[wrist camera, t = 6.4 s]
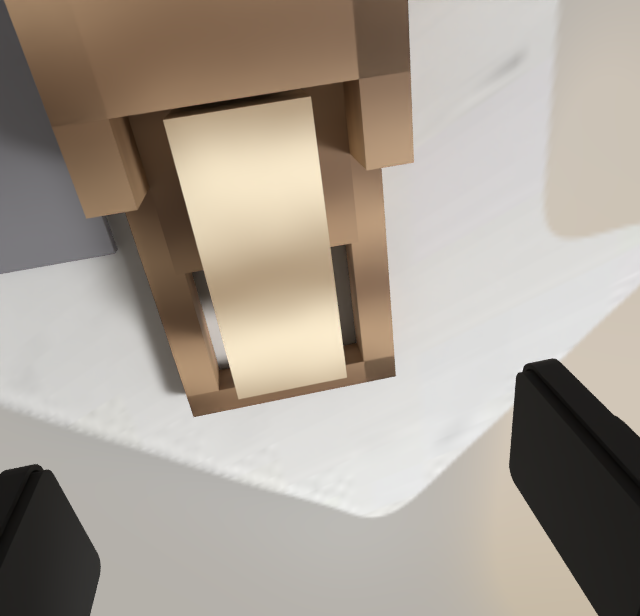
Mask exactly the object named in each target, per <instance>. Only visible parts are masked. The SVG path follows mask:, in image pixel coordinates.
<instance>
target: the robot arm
mask: <svg viewBox="0 0 640 616" xmlns="http://www.w3.org/2000/svg"><path fill="white" fill-rule="evenodd" d="M509 468H510V473H511V476H512V479H513V481H514V483H515V485H516V486H517V488H518V489H519V491H520V493H521V494H522V496H523V497H524V499H525V501H526V502H527V504H528V505H529V507H530V508H531V510H532V511H533V513H534V515H535V516H536V518H537V519H538V521H539V522H540V524H541V526H542V527H543V529H544V531H545V532H546V534H547V535H548V537H549V538H550V540H551V542H552V543H553V545H554V546H555V548H556V549H557V551H558V552H559V554H560V556H561V557H562V559H563V561H564V562H565V564H566V565H567V567H568V568H569V570H570V571H571V573H572V575H573V576H574V578H575V579H576V581H577V583H578V584H579V586H580V587H581V589H582V590H583V592H584V594H585V595H586V597H587V598H588V600H589V601H590V603H591V605H592V606H593V608H594V609H595V611H596V613H597V614H598V616H640V437H639V436H638V435H637V434H636V433H635V432H634V431H632V429H631V428H630V427H629V426H628V425H627V424H625V422H623V421H622V420H621V419H619V418H618V417H617V416H614V415H613V414H612V413H611V412H610V411H609V410H608V409H607V408H606V407H605V406H604V405H603V404H602V403H601V402H600V401H599V400H598V399H597V398H596V397H595V396H594V395H593V394H592V393H591V392H590V391H589V390H588V389H587V388H586V387H585V386H584V385H583V384H582V383H581V382H580V381H579V380H578V379H577V378H576V377H575V376H574V375H573V374H572V373H571V372H569V370H568V369H567V368H566V367H565V366H563V365H562V363H561V362H559V361H558V360H557V359H548V360H543V361H538V362H533V363H528V364H526V365H525V366H524V368H523V372H520V373H518V374H517V376H516V385H515V398H514V411H513V423H512V437H511V449H510V461H509ZM100 567H101V566H100V559H99V556H98V553H97V552H96V550H95V548H94V546H93V544H92V543H91V541H90V539H89V537H88V535H87V534H86V532H85V530H84V528H83V526H82V525H81V523H80V521H79V519H78V517H77V516H76V514H75V512H74V510H73V508H72V507H71V505H70V503H69V501H68V499H67V498H66V496H65V494H64V492H63V491H62V489H61V487H60V485H59V483H58V481H57V480H56V478H55V476H54V474H53V473H52V471H50V470H43V468H42V467H41V466H39V465H38V464H34V465H29V466H24V467H19V468H14V469H9V470H5V471H3V472H2V473H1V474H0V616H90V613H91V609H92V604H93V601H94V597H95V593H96V588H97V584H98V581H99V577H100Z"/></svg>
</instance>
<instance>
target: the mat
mask: <svg viewBox="0 0 640 616" xmlns="http://www.w3.org/2000/svg"><path fill="white" fill-rule="evenodd" d="M116 251H117V247H116V244H115V241H114V238H113V235H112V233H111V230H110V227H109V224H108V221H107V219H106V216H99V217H93V218H87V219H86V216H85V214H84V211H83V208H82V206H81V203H80V200H79V198H78V195H77V192H76V190H75V187H74V184H73V182H72V179H71V177H70V174H69V171H68V169H67V166H66V163H65V161H64V158H63V155H62V153H61V150H60V147H59V145H58V142H57V139H56V137H55V134H54V131H53V129H52V126H51V124H50V121H49V118H48V116H47V113H46V110H45V108H44V105H43V102H42V100H41V97H40V94H39V92H38V89H37V86H36V84H35V81H34V78H33V76H32V73H31V71H30V68H29V65H28V63H27V60H26V57H25V55H24V52H23V49H22V47H21V44H20V41H19V39H18V36H17V33H16V31H15V28H14V26H13V23H12V20H11V18H10V15H9V12H8V10H7V7H6V4H5V2H4V0H0V274H3V273H9V272H15V271H20V270H26V269H32V268H37V267H43V266H48V265H54V264H60V263H65V262H71V261H77V260H82V259H88V258H93V257H99V256H105V255H110V254H115V253H116Z"/></svg>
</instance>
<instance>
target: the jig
mask: <svg viewBox="0 0 640 616" xmlns="http://www.w3.org/2000/svg"><path fill="white" fill-rule="evenodd" d="M4 2H5V4H6V7H7V10H8V12H9V15H10V18H11V20H12V23H13V26H14V28H15V31H16V33H17V36H18V39H19V41H20V44H21V47H22V49H23V52H24V55H25V57H26V60H27V63H28V65H29V68H30V71H31V73H32V76H33V78H34V81H35V84H36V86H37V89H38V92H39V94H40V97H41V100H42V102H43V105H44V108H45V110H46V113H47V116H48V118H49V121H50V124H51V126H52V129H53V131H54V134H55V137H56V139H57V142H58V145H59V147H60V150H61V153H62V155H63V158H64V161H65V163H66V166H67V169H68V171H69V174H70V177H71V179H72V182H73V184H74V187H75V190H76V192H77V195H78V198H79V200H80V203H81V206H82V208H83V211H84V214H85V216H86V219H87V218H93V217H99V216H105V215H111V214H117V213H122V212H125V214H126V217H127V220H128V223H129V226H130V229H131V231H132V234H133V237H134V240H135V243H136V246H137V249H138V252H139V255H140V258H141V261H142V264H143V267H144V270H145V273H146V276H147V279H148V282H149V285H150V288H151V291H152V294H153V297H154V300H155V303H156V306H157V309H158V312H159V315H160V318H161V321H162V324H163V327H164V330H165V333H166V336H167V339H168V342H169V345H170V348H171V351H172V354H173V357H174V360H175V363H176V366H177V369H178V372H179V375H180V378H181V381H182V384H183V387H184V390H185V393H186V396H187V399H188V401H189V404H190V407H191V410H192V413H193V416H194V417H197V416H201V415H206V414H211V413H216V412H221V411H226V410H231V409H236V408H241V407H246V406H251V405H256V404H261V403H266V402H271V401H275V400H280V399H285V398H290V397H295V396H300V395H305V394H310V393H315V392H320V391H325V390H330V389H335V388H340V387H345V386H350V385H354V384H359V383H364V382H369V381H374V380H379V379H384V378H389V377H394V376H396V374H395V359H394V345H393V330H392V316H391V301H390V286H389V272H388V257H387V243H386V228H385V214H384V199H383V184H382V170H381V168H384V167H390V166H396V165H402V164H407V163H413V162H414V155H413V127H412V100H411V73H410V45H409V18H408V0H4ZM294 89H302V90H303V91H304V92H306V93H307V94H308V95H310V96H311V101H312V109H313V117H314V125H315V132H316V140H317V148H318V156H319V163H320V171H321V179H322V187H323V194H324V202H325V210H326V218H327V225H328V233H329V241H330V247H334V246H339V245H345V246H346V255H347V264H348V273H349V281H350V290H351V299H352V308H353V317H354V326H355V335H356V343H354V344H349V345H344V346H343V350H344V357H345V365H346V373H347V378H342V379H337V380H332V381H327V382H322V383H317V384H312V385H307V386H302V387H297V388H292V389H287V390H283V391H278V392H273V393H268V394H263V395H258V396H253V397H248V398H243V399H238V395H237V392H236V388H235V384H234V381H233V377H232V373H231V370H230V368H227V369H222V370H219V366H218V362H217V359H216V355H215V352H214V348H213V345H212V341H211V338H210V334H209V331H208V327H207V324H206V320H205V317H204V313H203V310H202V306H201V303H200V299H199V296H198V292H197V289H196V285H195V282H194V278H193V274H192V272H197V271H202V270H203V266H202V262H201V259H200V255H199V251H198V248H197V244H196V240H195V236H194V233H193V229H192V225H191V222H190V218H189V214H188V211H187V207H186V203H185V200H184V196H183V192H182V188H181V185H180V181H179V177H178V174H177V170H176V166H175V163H174V159H173V155H172V151H171V148H170V144H169V140H168V137H167V133H166V129H165V126H164V122H163V120H164V118H165V117H166V116H167V115H168V114H169V112H170V111H171V110H172V109H174V108H181V107H187V106H193V105H200V104H206V103H212V102H218V101H225V100H231V99H237V98H244V97H250V96H256V95H263V94H269V93H275V92H282V91H288V90H294Z"/></svg>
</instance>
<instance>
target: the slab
mask: <svg viewBox="0 0 640 616" xmlns="http://www.w3.org/2000/svg"><path fill="white" fill-rule="evenodd" d="M163 122H164V126H165V129H166V133H167V137H168V140H169V144H170V148H171V151H172V155H173V159H174V163H175V166H176V170H177V174H178V177H179V181H180V185H181V188H182V192H183V196H184V200H185V203H186V207H187V211H188V214H189V218H190V222H191V225H192V229H193V233H194V236H195V240H196V244H197V248H198V251H199V255H200V259H201V262H202V266H203V270H204V273H205V277H206V281H207V285H208V288H209V292H210V296H211V299H212V303H213V307H214V310H215V314H216V318H217V321H218V325H219V329H220V333H221V336H222V340H223V344H224V347H225V351H226V355H227V358H228V362H229V366H230V370H231V373H232V377H233V381H234V384H235V388H236V392H237V395H238V399H243V398H248V397H253V396H258V395H263V394H268V393H273V392H278V391H283V390H287V389H292V388H297V387H302V386H307V385H312V384H317V383H322V382H327V381H332V380H337V379H342V378H347V373H346V365H345V357H344V350H343V342H342V334H341V326H340V319H339V311H338V303H337V295H336V287H335V280H334V272H333V264H332V256H331V249H330V241H329V233H328V225H327V218H326V210H325V202H324V194H323V187H322V179H321V171H320V163H319V156H318V148H317V140H316V132H315V125H314V117H313V109H312V101H311V96H310V95H308V94H307V93H306V92H304V91H303V90H302V89H294V90H288V91H282V92H275V93H269V94H263V95H256V96H250V97H244V98H237V99H231V100H225V101H218V102H212V103H206V104H200V105H193V106H187V107H181V108H174V109H172V110H171V111H170V112H169V114H168V115H167V116H166V117H165V118H164V120H163Z"/></svg>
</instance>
